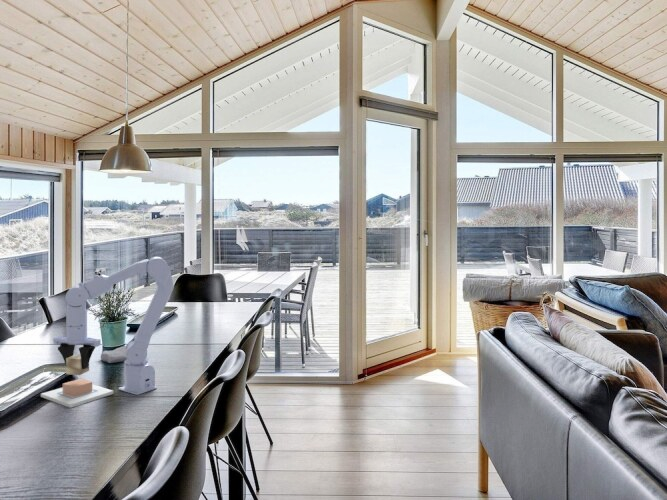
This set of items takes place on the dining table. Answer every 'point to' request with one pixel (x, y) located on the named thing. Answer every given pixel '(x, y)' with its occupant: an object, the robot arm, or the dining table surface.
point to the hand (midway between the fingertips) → (77, 367)
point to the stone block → (114, 355)
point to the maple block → (75, 365)
